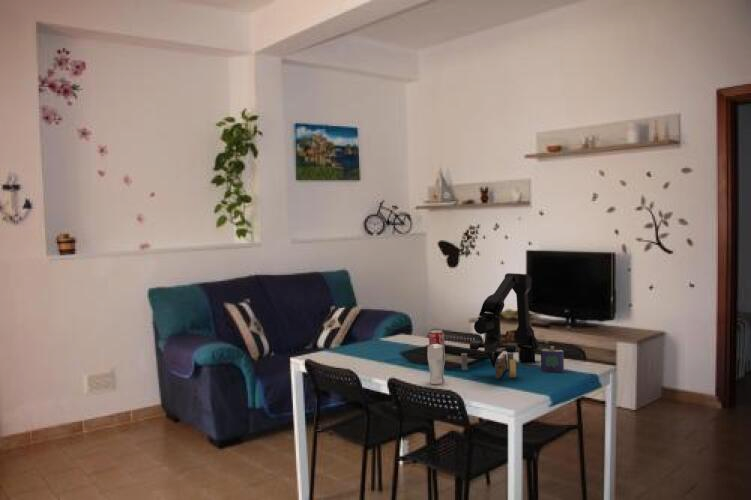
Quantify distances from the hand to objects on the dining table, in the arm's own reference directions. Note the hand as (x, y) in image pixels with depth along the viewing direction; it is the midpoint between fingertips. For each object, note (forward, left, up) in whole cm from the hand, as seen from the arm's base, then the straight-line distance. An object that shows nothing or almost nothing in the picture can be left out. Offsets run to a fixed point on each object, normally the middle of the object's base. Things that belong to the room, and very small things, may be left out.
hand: (493, 367), depth 256 cm
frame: (+2, -6, -4) cm, 7 cm away
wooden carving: (-14, -42, -4) cm, 44 cm away
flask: (-25, -7, -4) cm, 26 cm away
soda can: (+23, -33, -4) cm, 41 cm away
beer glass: (+23, +7, -4) cm, 25 cm away
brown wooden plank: (-4, -4, -4) cm, 7 cm away
